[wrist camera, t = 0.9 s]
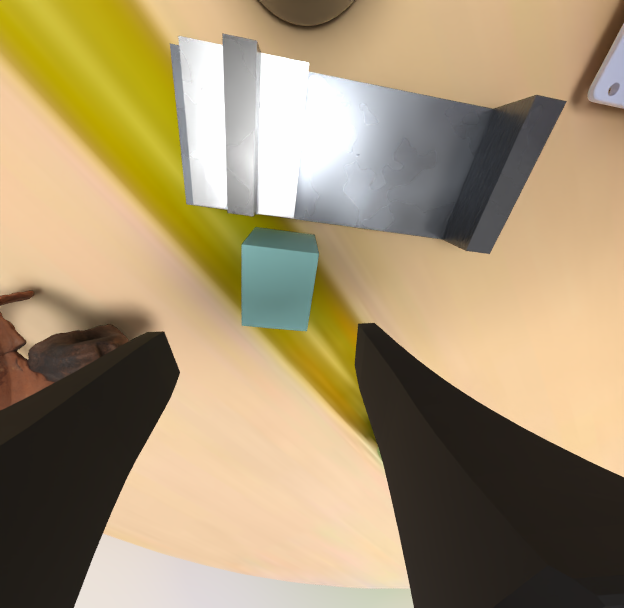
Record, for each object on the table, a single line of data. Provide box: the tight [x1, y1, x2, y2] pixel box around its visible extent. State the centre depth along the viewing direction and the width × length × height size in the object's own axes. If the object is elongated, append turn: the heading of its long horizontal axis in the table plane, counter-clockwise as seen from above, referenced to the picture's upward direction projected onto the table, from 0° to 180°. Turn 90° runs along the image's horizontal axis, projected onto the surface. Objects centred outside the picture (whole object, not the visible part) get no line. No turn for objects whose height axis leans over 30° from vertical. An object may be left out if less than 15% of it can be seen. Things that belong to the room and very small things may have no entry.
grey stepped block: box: [178, 33, 309, 218], centre depth 11 cm, size 5×6×4 cm
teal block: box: [242, 227, 319, 331], centre depth 16 cm, size 4×5×4 cm
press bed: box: [170, 44, 567, 254], centre depth 13 cm, size 18×7×4 cm, turn 82°
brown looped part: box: [0, 291, 129, 410], centre depth 17 cm, size 12×9×8 cm
